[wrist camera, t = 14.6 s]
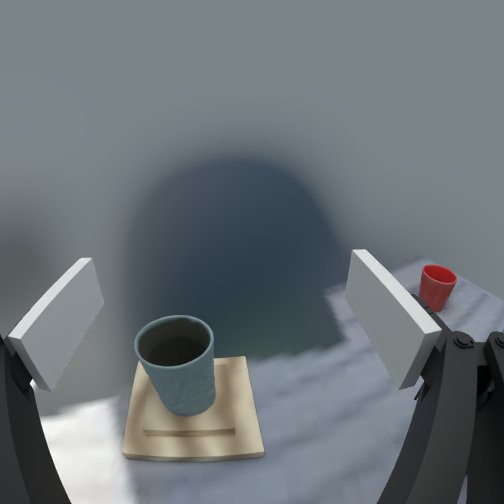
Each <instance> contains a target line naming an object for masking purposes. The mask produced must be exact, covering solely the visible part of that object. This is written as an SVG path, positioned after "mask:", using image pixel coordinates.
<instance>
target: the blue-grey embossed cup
mask: <svg viewBox="0 0 504 504" xmlns="http://www.w3.org/2000/svg"><path fill="white" fill-rule="evenodd" d="M134 348H135V352H136V355H137V357H138V358H139V360H140V362H141V364H142V366H143V368H144V370H145V372H146V374H147V375H148V376H149V379H150V381H151V383H152V385H153V386H154V388H155V390H156V392H158V396H159V397H160V399H161V401H162V403H163V404H164V406H165V407H166V408H167V409H168V410H170V411H171V412H173V413H174V414H177V415H181V416H194V415H198V414H201V413H203V412H205V411H206V410H207V409H208V408H210V407H211V405H213V402H214V400H215V396H216V387H215V377H214V375H215V374H214V353H213V352H214V349H213V348H214V346H213V332H212V330H211V328H210V327H209V326H208V325H207V324H206V323H205V322H203V321H201V320H200V319H197V318H195V317H191V316H184V315H175V316H167V317H163V318H161V319H158V320H155V321H153V322H151V323H149V324H147V325H146V326H145V327H144V328H143V329H142V330H141V331H140V332H139V333H138V335H137V336H136V339H135V344H134Z"/></svg>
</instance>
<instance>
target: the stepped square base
mask: <svg viewBox="0 0 504 504" xmlns="http://www.w3.org/2000/svg"><path fill="white" fill-rule="evenodd" d="M214 374H215V375H214V377H215V387H216V396H215V400H214V402H213V405H211V407H210V408H208V409H207V410H206V411H205V412H203V413H201V414H198V415H194V416H181V415H177V414H174V413H173V412H171V411H170V410H168V409H167V408H166V407H165V406H164V404H163V403H162V401H161V399H160V397H159V396H158V392H156V390H155V388H154V386H153V385H152V383H151V381H150V379H149V376H148V375H147V374H146V372H145V370H144V368H143V366H142V364H141V362H140V361H139V362H138V366H137V371H136V375H135V381H134V385H133V390H132V395H131V400H130V405H129V411H128V417H127V422H126V429H125V435H124V442H123V449H122V454H123V455H124V456H125V457H126V458H128V459H138V460H149V461H167V462H209V461H227V460H239V459H248V458H257V457H264V448H263V444H262V439H261V434H260V429H259V425H258V420H257V415H256V410H255V405H254V400H253V395H252V390H251V385H250V380H249V375H248V369H247V364H246V359H245V356H244V357H243V356H242V357H231V358H218V359H214Z"/></svg>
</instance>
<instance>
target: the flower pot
mask: <svg viewBox="0 0 504 504" xmlns="http://www.w3.org/2000/svg"><path fill="white" fill-rule="evenodd" d="M456 282H457V277H456V275H455V274H454V273H453V272H452V271H450V270H449V269H447V268H444V267H442V266H438V265H426V266H424V267H423V270H422V277H421V284H420V292H419V298H421V299H422V300H423V301H424V302H425V303H426V304H427V305H428V306H429V308H431V309H432V310H433V311H434V312H438V311H440V310H441V309H442V308H443V306H444V304H445V303H446V301H447V299H448V297H449V296H450V294H451V292H452V290H453V288H454V286H455V284H456Z"/></svg>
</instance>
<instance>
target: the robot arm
mask: <svg viewBox="0 0 504 504" xmlns="http://www.w3.org/2000/svg"><path fill="white" fill-rule="evenodd" d="M345 299H346V301H347V302H348V304H349V305H350V307H351V309H352V310H353V312H354V314H355V315H356V317H357V319H358V320H359V322H360V323H361V325H362V327H363V329H364V330H365V332H366V334H367V335H368V337H369V339H370V340H371V342H372V344H373V346H374V347H375V349H376V351H377V352H378V354H379V356H380V358H381V360H382V361H383V363H384V365H385V367H386V368H387V370H388V372H389V374H390V376H391V377H392V379H393V381H394V383H395V385H396V387H397V389H398V390H401V389H404V388H408V387H411V386H414V385H415V383H416V382H417V380H418V378H419V376H420V375H421V376H422V378H423V379H424V383H423V385H422V386H421V388H420V390H419V391H418V393H417V395H416V396H415V398H414V400H417V398H418V401H417V404H416V408H415V411H414V415H413V418H412V421H411V424H410V427H409V430H408V433H407V436H406V439H405V441H404V444H403V447H402V449H401V452H400V454H399V457H398V459H397V462H396V464H395V467H394V469H393V471H392V473H391V476H390V478H389V480H388V482H387V484H386V486H385V488H384V490H383V492H382V494H381V496H380V498H379V500H378V502H377V504H457V501H458V498H459V495H460V491H461V488H462V484H463V480H464V477H465V474H468V485H467V501H466V504H504V329H503V331H502V332H497V331H496V332H492V333H490V335H489V337H488V339H487V341H486V342H475V341H474V340H473V338H472V337H470V336H469V335H468V334H466V333H463V332H460V331H454V332H452V331H451V330H450V329H449V328H448V327H447V326H446V325H445V323H444V322H443V321H442V320H441V319H440V318H439V317H438V316H437V315H436V314H434V311H433V310H432V309H431V308H429V306H428V305H427V304H426V303H425V302H424V301H423V300H422V299H421V298H419V297H417V296H416V295H414V294H409V293H408V292H407V291H406V290H405V289H404V287H403V286H402V285H401V284H400V283H399V282H398V281H397V280H396V279H395V278H394V277H393V276H392V275H391V274H390V273H389V272H388V271H387V270H386V269H385V268H384V267H383V266H382V265H381V264H380V263H379V262H378V261H377V260H376V259H375V258H374V257H373V256H372V255H371V254H370V253H369V252H368V251H366V250H352V255H351V262H350V269H349V274H348V280H347V286H346V292H345ZM103 305H104V300H103V297H102V293H101V290H100V286H99V283H98V279H97V275H96V271H95V267H94V263H93V259H92V258H80V259H79V260H78V261H77V262H76V263H75V264H74V265H73V266H72V267H71V268H70V269H69V270H68V271H67V272H66V273H65V274H64V275H63V276H62V277H61V278H60V279H59V280H58V281H57V282H56V283H55V284H54V285H53V286H52V287H51V288H50V289H49V290H48V291H47V292H46V293H45V294H44V295H43V296H42V297H41V299H40V300H39V301H38V302H37V303H36V304H35V305H34V306H33V307H32V308H31V309H30V310H29V311H28V312H27V313H26V314H25V315H24V317H23V318H22V319H21V320H20V321H19V323H17V324H16V326H15V327H14V328H13V329H12V330H11V332H10V333H9V334H8V335H7V336H6V338H5V339H4V340H3V339H2V337H1V335H0V504H71V502H70V500H69V498H68V496H67V494H66V491H65V489H64V487H63V485H62V482H61V480H60V478H59V475H58V473H57V470H56V468H55V465H54V463H53V460H52V457H51V454H50V451H49V448H48V445H47V442H46V439H45V436H44V432H43V429H42V425H41V422H40V418H39V414H38V410H37V405H36V401H35V396H34V391H33V388H32V386H31V385H30V382H31V380H32V379H33V380H34V381H35V383H36V384H37V386H38V387H39V389H43V390H46V391H49V392H53V390H54V388H55V386H56V384H57V382H58V380H59V378H60V377H61V375H62V373H63V371H64V369H65V367H66V365H67V364H68V362H69V360H70V358H71V357H72V355H73V353H74V352H75V350H76V348H77V346H78V345H79V343H80V341H81V340H82V338H83V336H84V335H85V333H86V332H87V330H88V328H89V327H90V325H91V323H92V322H93V320H94V318H95V317H96V315H97V314H98V312H99V311H100V309H101V308H102V306H103Z"/></svg>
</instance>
